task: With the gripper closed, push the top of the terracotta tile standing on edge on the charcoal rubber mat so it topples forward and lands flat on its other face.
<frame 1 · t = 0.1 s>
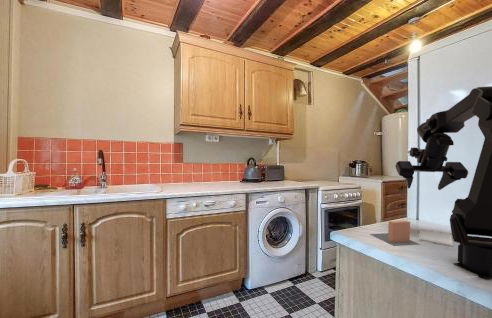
hand: (423, 188, 82), 15 cm above the counter, tool tilted 35°, fingers open, 9 cm apart
hard drive: (435, 241, 73), on the counter
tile: (398, 241, 70), resting on mat
mat: (393, 240, 72), on the counter
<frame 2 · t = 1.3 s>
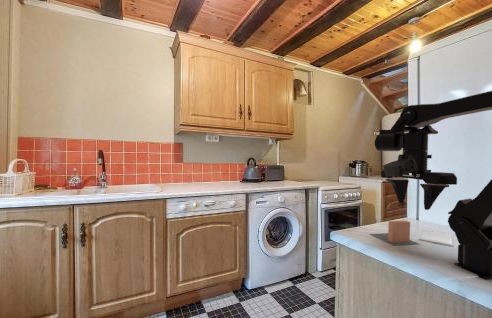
hand: (413, 206, 65), 12 cm above the counter, tool pointing down, fingers open, 8 cm apart
nothing on the counter moved.
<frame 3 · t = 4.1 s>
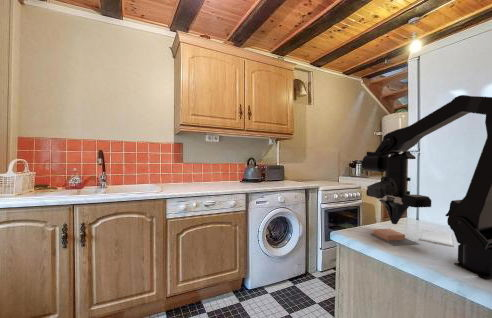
hand: (394, 223, 71), 5 cm above the counter, tool pointing down, fingers closed
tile: (396, 237, 70), point 1 cm above the counter, tilted 90°, touching mat
everything else where it was.
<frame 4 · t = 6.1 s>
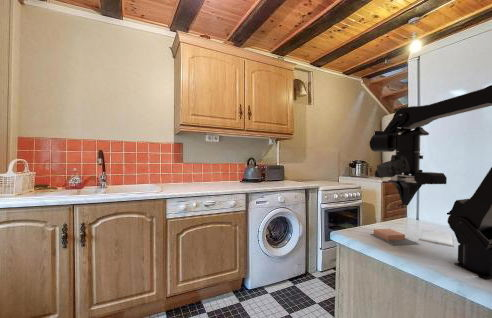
hand: (405, 205, 68), 12 cm above the counter, tool pointing down, fingers closed
nothing on the counter moved.
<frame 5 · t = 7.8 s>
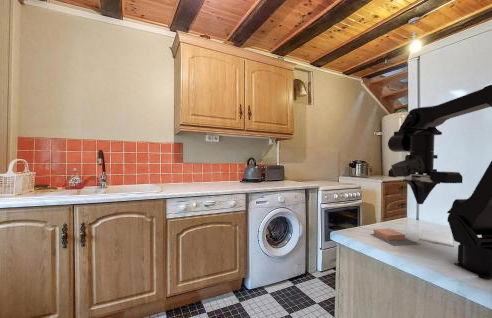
hand: (419, 204, 68), 12 cm above the counter, tool pointing down, fingers closed
nothing on the counter moved.
at the end: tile tilted 90°; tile inside the target area (2.1 cm from its centre), point 1.2 cm above the counter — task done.
